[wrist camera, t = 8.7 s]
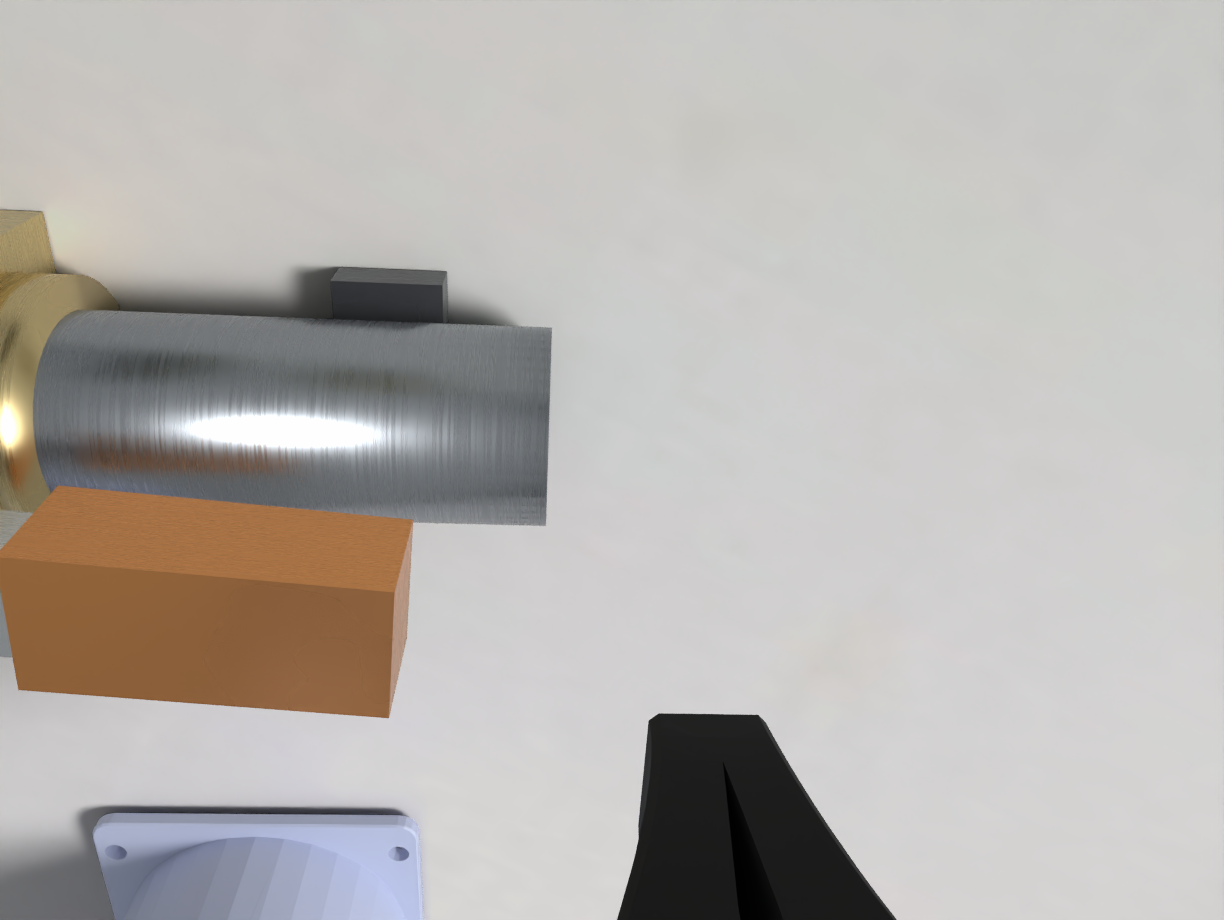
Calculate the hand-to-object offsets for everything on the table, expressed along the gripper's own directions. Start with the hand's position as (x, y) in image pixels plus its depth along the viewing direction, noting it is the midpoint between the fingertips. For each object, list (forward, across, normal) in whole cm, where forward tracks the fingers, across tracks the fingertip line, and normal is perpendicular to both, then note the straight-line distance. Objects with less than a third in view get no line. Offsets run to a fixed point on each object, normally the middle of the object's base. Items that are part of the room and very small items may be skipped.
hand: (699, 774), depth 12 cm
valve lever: (+4, +10, -1) cm, 11 cm away
